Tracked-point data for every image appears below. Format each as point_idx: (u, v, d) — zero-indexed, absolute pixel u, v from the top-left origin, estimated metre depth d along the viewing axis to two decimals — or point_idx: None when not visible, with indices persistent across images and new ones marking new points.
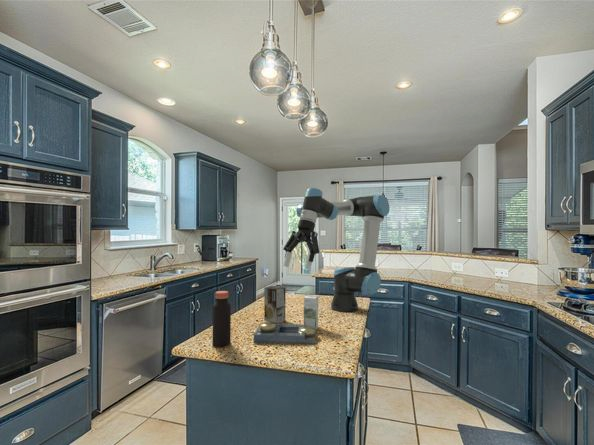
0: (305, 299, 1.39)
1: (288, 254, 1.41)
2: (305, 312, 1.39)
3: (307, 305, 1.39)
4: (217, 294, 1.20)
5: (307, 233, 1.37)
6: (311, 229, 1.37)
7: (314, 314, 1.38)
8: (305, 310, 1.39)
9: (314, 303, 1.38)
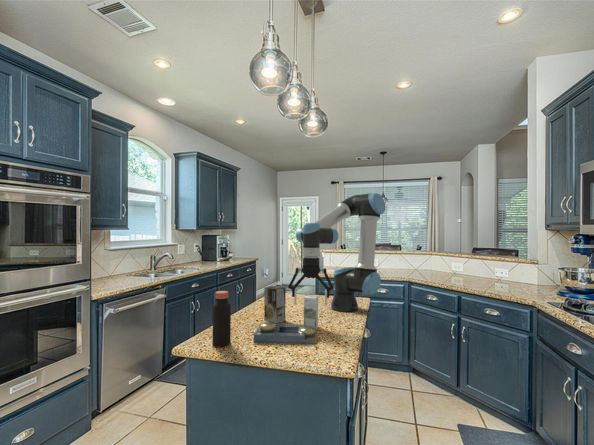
0: (305, 299, 1.39)
1: (296, 292, 1.41)
2: (305, 312, 1.39)
3: (307, 305, 1.39)
4: (217, 294, 1.20)
5: (317, 270, 1.40)
6: None
7: (314, 314, 1.38)
8: (305, 310, 1.39)
9: (314, 303, 1.38)
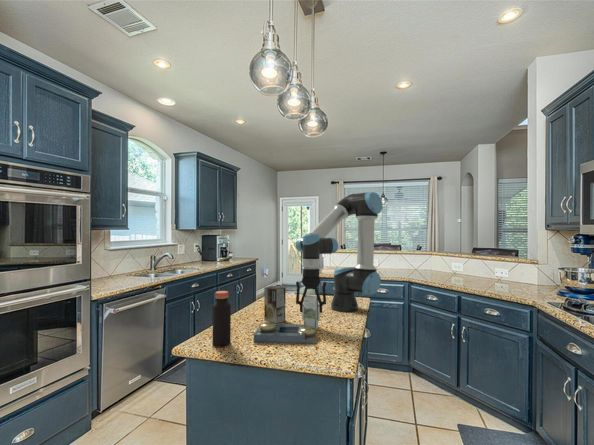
0: (305, 299, 1.39)
1: None
2: (305, 312, 1.39)
3: (307, 305, 1.39)
4: (217, 294, 1.20)
5: (317, 281, 1.40)
6: None
7: (314, 314, 1.38)
8: (305, 310, 1.39)
9: (314, 303, 1.38)
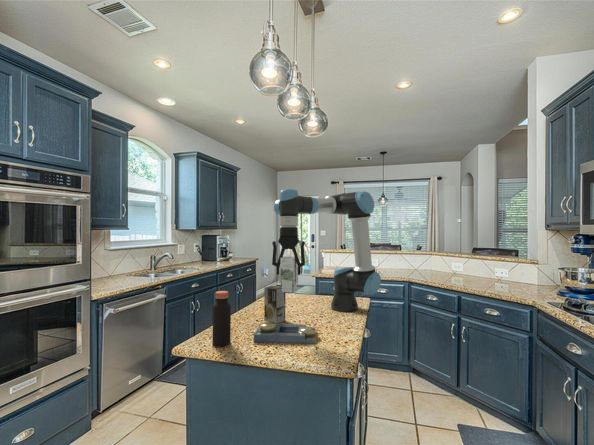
0: (282, 259, 1.28)
1: None
2: (282, 273, 1.28)
3: (284, 266, 1.28)
4: (217, 294, 1.20)
5: (295, 241, 1.29)
6: None
7: (291, 275, 1.27)
8: (282, 271, 1.28)
9: (291, 263, 1.27)
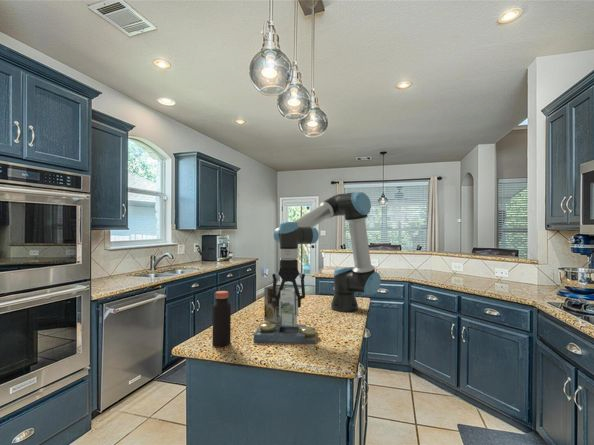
0: (282, 292, 1.28)
1: None
2: (282, 307, 1.27)
3: (284, 299, 1.27)
4: (217, 294, 1.20)
5: (295, 273, 1.29)
6: None
7: (291, 309, 1.26)
8: (282, 304, 1.27)
9: (291, 297, 1.27)
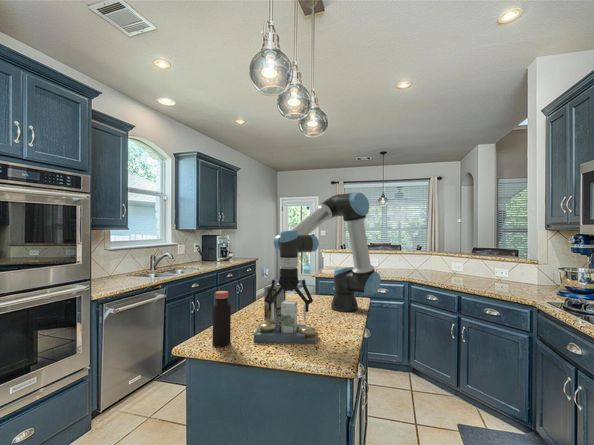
0: (282, 305, 1.27)
1: (273, 306, 1.30)
2: (282, 319, 1.27)
3: (284, 312, 1.27)
4: (217, 294, 1.20)
5: (295, 282, 1.29)
6: (297, 276, 1.30)
7: (292, 321, 1.26)
8: (282, 317, 1.27)
9: (292, 309, 1.27)
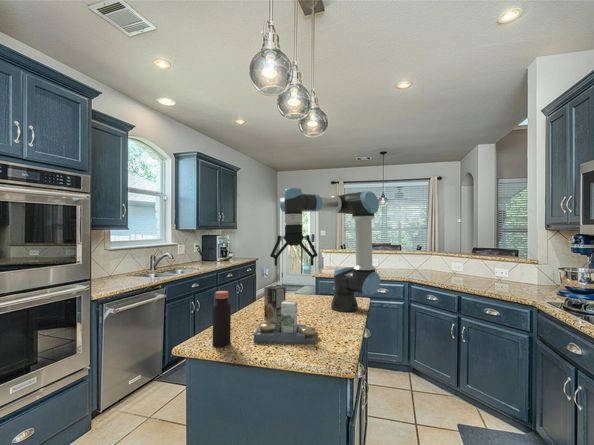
0: (282, 305, 1.27)
1: (279, 261, 1.35)
2: (282, 319, 1.27)
3: (284, 312, 1.27)
4: (217, 294, 1.20)
5: (300, 237, 1.35)
6: None
7: (292, 321, 1.26)
8: (282, 317, 1.27)
9: (292, 309, 1.27)
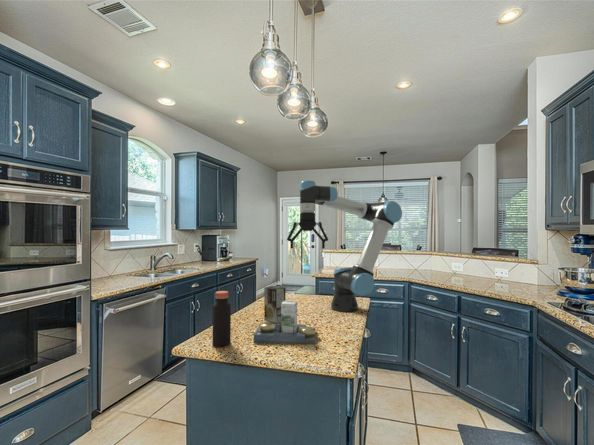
0: (282, 305, 1.27)
1: (294, 244, 1.55)
2: (282, 319, 1.27)
3: (284, 312, 1.27)
4: (217, 294, 1.20)
5: (313, 224, 1.54)
6: None
7: (292, 321, 1.26)
8: (282, 317, 1.27)
9: (292, 309, 1.27)
